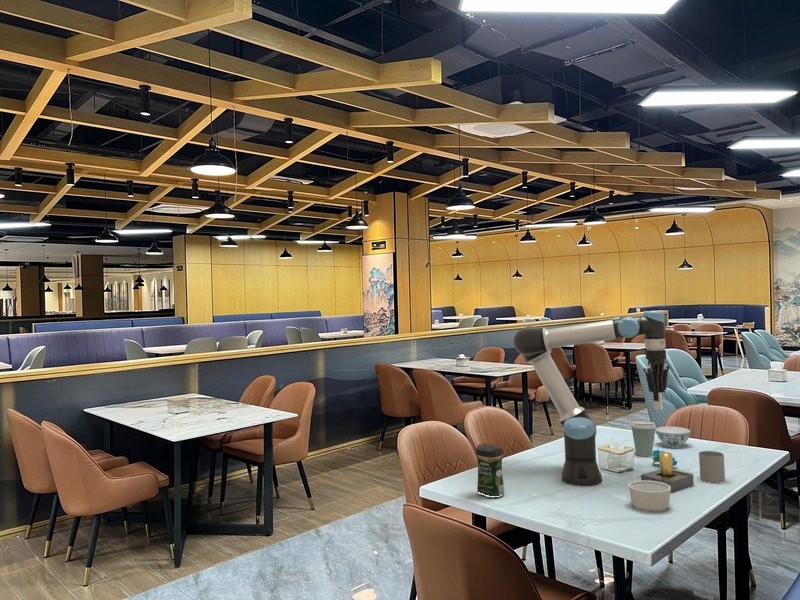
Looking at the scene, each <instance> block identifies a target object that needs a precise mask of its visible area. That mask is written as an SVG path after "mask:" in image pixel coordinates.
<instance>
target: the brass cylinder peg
mask: <svg viewBox="0 0 800 600" xmlns="http://www.w3.org/2000/svg"><path fill="white" fill-rule="evenodd" d="M672 457H673V453H672V452H668V451H664V452H661V451H660V453H659V458H660V462H659V465H660V468H659V470H660V476H663V477H667V478H671V477H673V469H674V465H673V460H672Z"/></svg>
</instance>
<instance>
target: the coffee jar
mask: <svg viewBox="0 0 800 600" xmlns="http://www.w3.org/2000/svg"><path fill="white" fill-rule="evenodd" d="M475 457H476V461H477V488H476V489H477V493H478V492H480V493H483V494H485V495H489V496H500V495H503V494H504V495H505V484H504V477H503V467H502V466H503V465H502V463H503V458H504V453H503V448H502V447H501V446H500V445H493V444H489V443H480V444H478V445H477V446H476V450H475ZM504 495H503V496H504Z"/></svg>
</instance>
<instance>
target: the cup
mask: <svg viewBox="0 0 800 600" xmlns="http://www.w3.org/2000/svg"><path fill="white" fill-rule="evenodd" d="M724 456H725V455H724V453H722V452H719V451H714V450H703V451H699V452H698V458H699V462H698V463H699V478H700V479H699V480H700V481H702V482H704V481H705V483H708V482H711V483H710V484H721V483H720V482H724V481H725V482H726V471H725V457H724ZM717 482H718V483H717ZM725 482H724V483H725Z"/></svg>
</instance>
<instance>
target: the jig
mask: <svg viewBox="0 0 800 600" xmlns="http://www.w3.org/2000/svg"><path fill="white" fill-rule="evenodd" d="M644 480H646V481H657V482H662V483H665V484H667V485H669V486H670V487H671V492H670V494H672V493H675V492H679V491H682V489H683V490H685V488H686V489H688V487H689V488H692V487H694V486H695V483H694V473H692V472H689V471H685V470H680V469H675V468H673V477H671V478H667V477H663V476H660V469H656V470H653V471H650V472H645V473H643V474H640V481H644Z"/></svg>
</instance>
